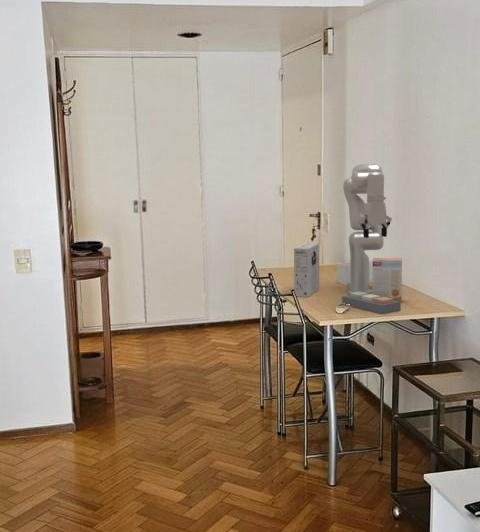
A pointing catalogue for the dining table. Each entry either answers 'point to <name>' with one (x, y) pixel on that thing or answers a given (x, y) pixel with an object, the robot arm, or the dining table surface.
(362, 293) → the left key
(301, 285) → the cereal box
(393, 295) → the cracker box
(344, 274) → the storage container
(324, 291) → the dining table surface
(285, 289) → the dining table surface
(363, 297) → the middle key
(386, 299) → the right key
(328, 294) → the dining table surface
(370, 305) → the key panel
